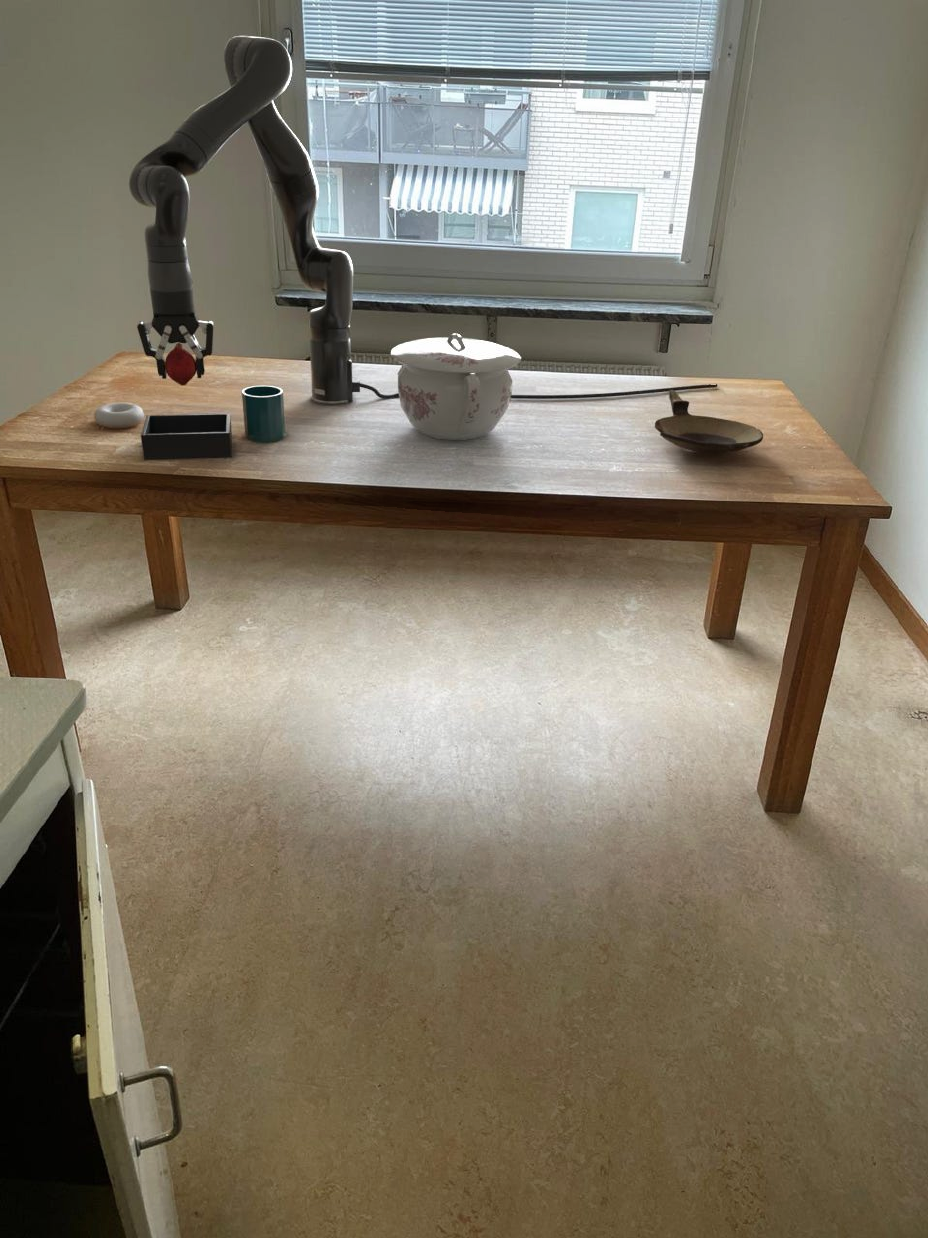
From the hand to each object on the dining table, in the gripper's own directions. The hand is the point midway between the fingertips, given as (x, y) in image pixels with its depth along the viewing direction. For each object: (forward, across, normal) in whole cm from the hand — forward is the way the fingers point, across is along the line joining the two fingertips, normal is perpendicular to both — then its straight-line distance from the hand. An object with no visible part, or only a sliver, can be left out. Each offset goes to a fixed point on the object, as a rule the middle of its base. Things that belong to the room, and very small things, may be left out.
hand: (182, 377), depth 172 cm
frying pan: (+15, +108, -8) cm, 109 cm away
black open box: (+14, 0, 0) cm, 14 cm away
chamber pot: (+15, +55, +6) cm, 57 cm away
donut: (+14, -15, +17) cm, 27 cm away
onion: (+2, 0, 0) cm, 2 cm away
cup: (+14, +15, +6) cm, 21 cm away
